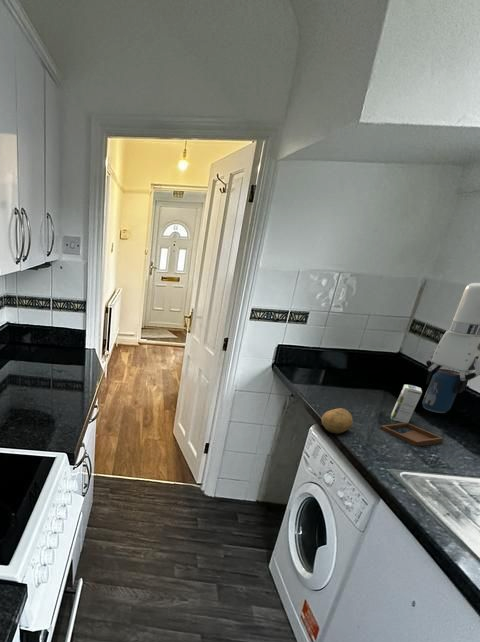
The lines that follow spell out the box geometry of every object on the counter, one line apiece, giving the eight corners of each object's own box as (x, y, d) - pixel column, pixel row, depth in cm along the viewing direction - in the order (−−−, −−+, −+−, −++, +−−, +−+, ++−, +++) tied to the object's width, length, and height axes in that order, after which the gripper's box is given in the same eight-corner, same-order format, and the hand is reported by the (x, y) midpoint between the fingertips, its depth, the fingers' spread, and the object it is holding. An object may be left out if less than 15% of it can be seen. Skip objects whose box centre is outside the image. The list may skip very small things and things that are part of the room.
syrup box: (389, 416, 168) (403, 383, 162) (406, 420, 166) (421, 387, 160) (390, 421, 164) (404, 387, 158) (408, 425, 161) (423, 391, 155)
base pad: (441, 443, 148) (443, 438, 147) (414, 447, 144) (416, 441, 143) (405, 427, 159) (407, 422, 159) (379, 430, 155) (381, 425, 154)
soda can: (450, 410, 127) (466, 372, 122) (446, 415, 122) (463, 377, 117) (422, 403, 131) (437, 367, 126) (418, 408, 127) (433, 370, 122)
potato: (312, 431, 151) (318, 412, 147) (325, 421, 160) (332, 402, 156) (340, 442, 145) (348, 421, 141) (353, 431, 154) (360, 411, 150)
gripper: (511, 335, 111) (484, 397, 118) (443, 322, 126) (422, 378, 133) (494, 336, 108) (466, 399, 115) (426, 323, 123) (406, 379, 130)
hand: (443, 387), depth 124 cm, fingers closed on soda can, 7 cm apart
